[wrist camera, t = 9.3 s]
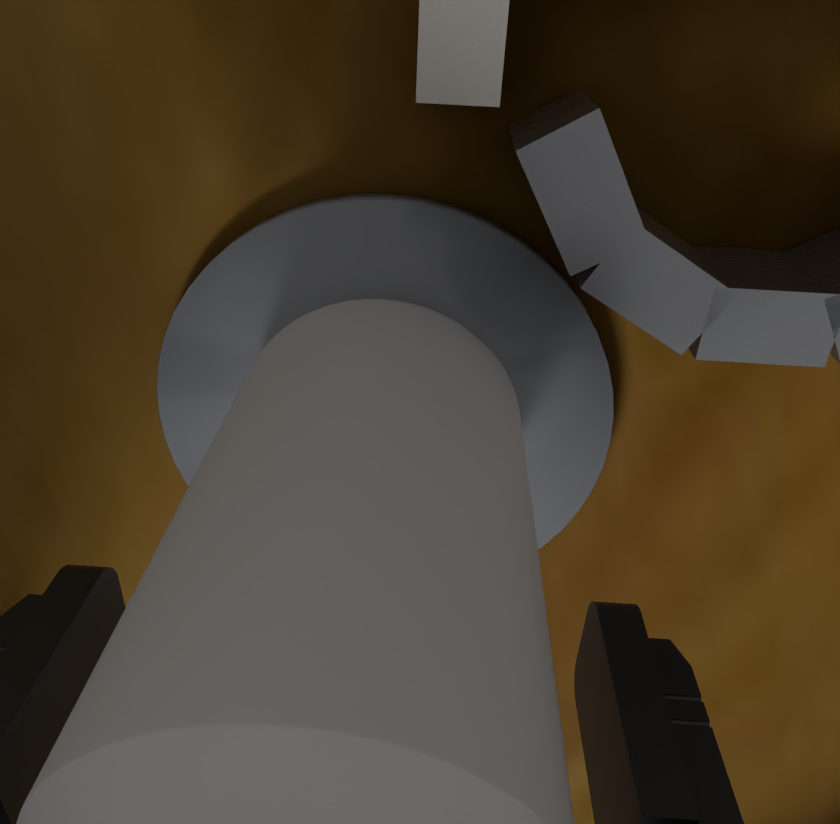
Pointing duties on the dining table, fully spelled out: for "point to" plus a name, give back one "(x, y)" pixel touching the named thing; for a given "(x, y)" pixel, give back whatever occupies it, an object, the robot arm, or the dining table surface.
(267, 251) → the coaster
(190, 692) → the beverage can
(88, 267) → the dining table surface
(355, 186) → the dining table surface
